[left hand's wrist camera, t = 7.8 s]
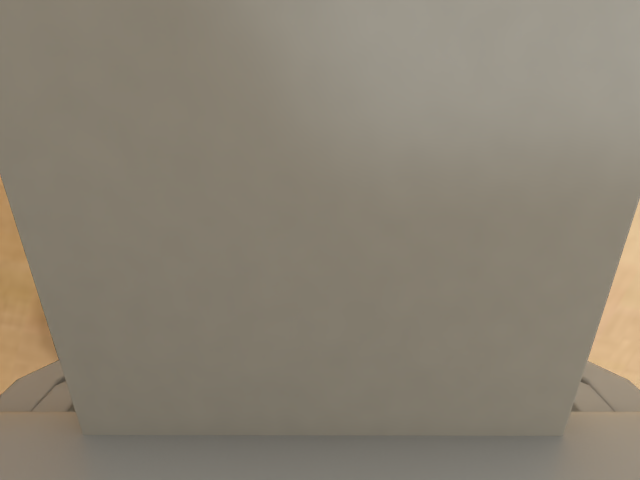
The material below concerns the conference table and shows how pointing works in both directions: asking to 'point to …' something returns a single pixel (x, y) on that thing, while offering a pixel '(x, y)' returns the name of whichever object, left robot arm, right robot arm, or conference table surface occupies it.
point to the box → (321, 207)
